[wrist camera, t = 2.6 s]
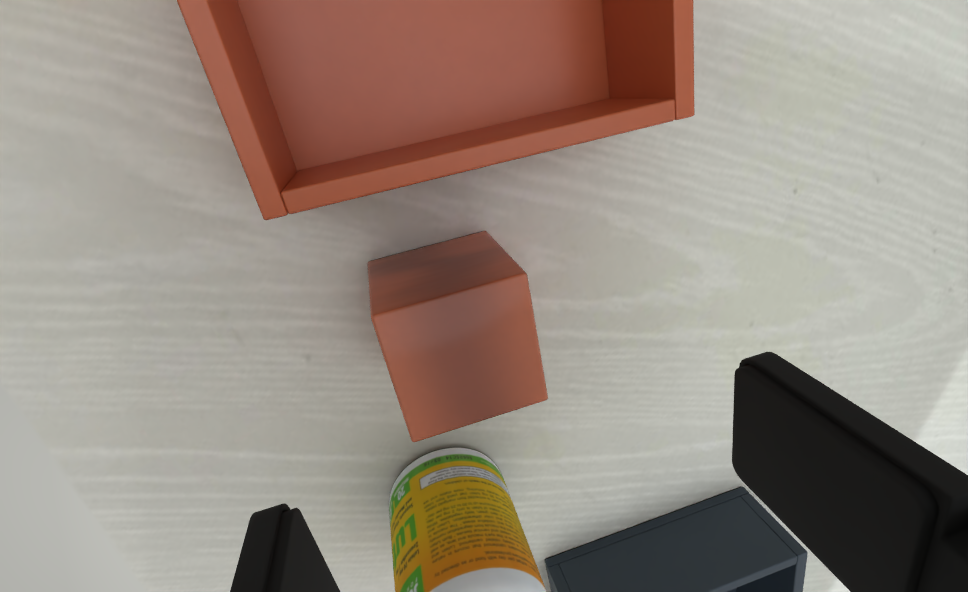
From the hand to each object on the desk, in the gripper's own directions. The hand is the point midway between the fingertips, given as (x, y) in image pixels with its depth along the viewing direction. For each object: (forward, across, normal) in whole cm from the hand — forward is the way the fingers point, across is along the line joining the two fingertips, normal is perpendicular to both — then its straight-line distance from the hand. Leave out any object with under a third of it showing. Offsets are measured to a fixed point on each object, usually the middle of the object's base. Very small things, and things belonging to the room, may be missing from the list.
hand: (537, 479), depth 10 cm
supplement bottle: (+10, +3, +10) cm, 14 cm away
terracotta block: (+10, +1, 0) cm, 10 cm away
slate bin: (+10, -7, +22) cm, 26 cm away
